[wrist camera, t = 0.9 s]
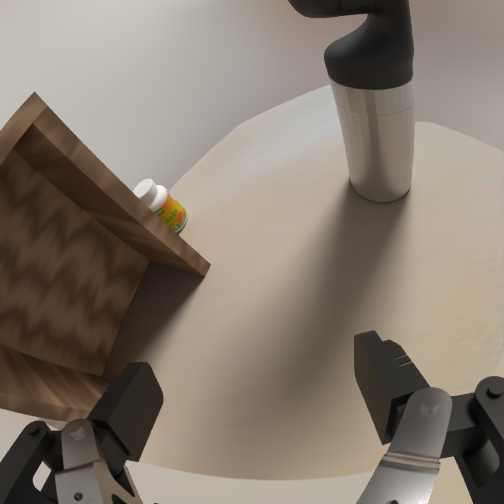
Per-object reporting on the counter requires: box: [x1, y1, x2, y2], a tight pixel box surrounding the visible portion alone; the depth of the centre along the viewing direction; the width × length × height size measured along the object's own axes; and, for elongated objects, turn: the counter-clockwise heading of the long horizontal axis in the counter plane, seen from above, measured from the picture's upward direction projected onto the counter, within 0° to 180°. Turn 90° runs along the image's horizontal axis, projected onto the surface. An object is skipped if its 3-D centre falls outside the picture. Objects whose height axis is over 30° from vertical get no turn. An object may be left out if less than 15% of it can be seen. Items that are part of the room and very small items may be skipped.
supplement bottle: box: [133, 179, 188, 233], centre depth 43 cm, size 5×5×10 cm
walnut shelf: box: [0, 92, 211, 422], centre depth 25 cm, size 26×14×32 cm, turn 157°
